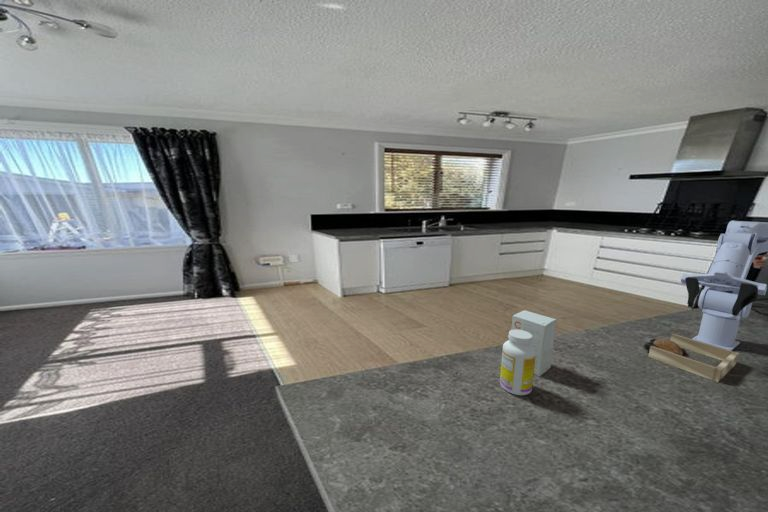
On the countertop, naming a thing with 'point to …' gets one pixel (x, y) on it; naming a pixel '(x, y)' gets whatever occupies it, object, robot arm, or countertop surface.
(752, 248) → the robot arm
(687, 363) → the frame
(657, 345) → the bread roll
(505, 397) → the countertop surface
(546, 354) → the small box
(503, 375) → the supplement bottle
